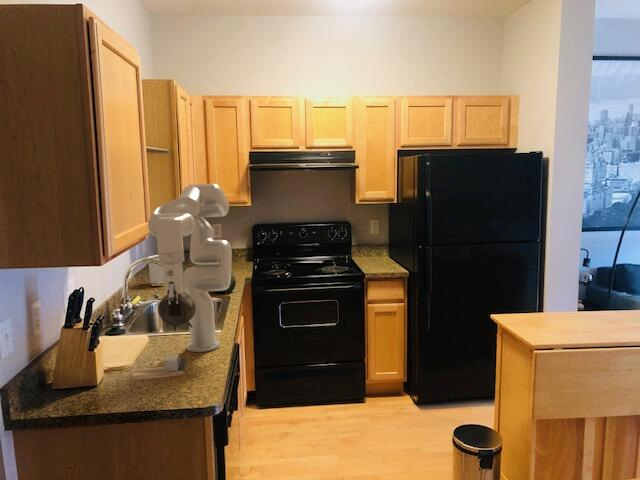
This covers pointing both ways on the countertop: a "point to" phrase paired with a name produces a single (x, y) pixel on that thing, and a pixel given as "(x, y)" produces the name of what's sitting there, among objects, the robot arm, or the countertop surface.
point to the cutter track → (158, 372)
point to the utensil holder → (156, 272)
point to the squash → (232, 284)
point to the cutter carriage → (172, 362)
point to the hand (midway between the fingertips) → (176, 311)
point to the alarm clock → (185, 311)
